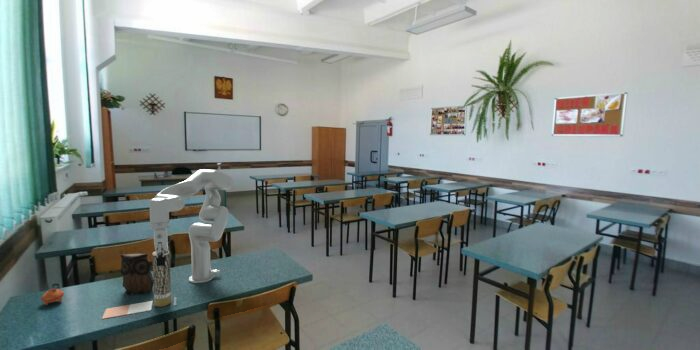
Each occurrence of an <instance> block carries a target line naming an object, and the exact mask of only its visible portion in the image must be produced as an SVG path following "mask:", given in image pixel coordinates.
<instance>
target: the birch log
mask: <svg viewBox="0 0 700 350" xmlns="http://www.w3.org/2000/svg"><path fill="white" fill-rule="evenodd" d="M151 255H152V271H153V273H152V277H153V280H154V284H153V297H154V301H153V302H154V306H155V307H158V308H160V307H166V306H168V305H170V303H171V302H172V289H171V288H172V287H171V283H172V282H171V260H170V259H171V258H170V257H171V256H170V250H169V249H167V250H164V256H165V265H162V266H157V259H156V257H157V252H156V251H153V252H152V254H151ZM162 255H163V254H162Z"/></svg>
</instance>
